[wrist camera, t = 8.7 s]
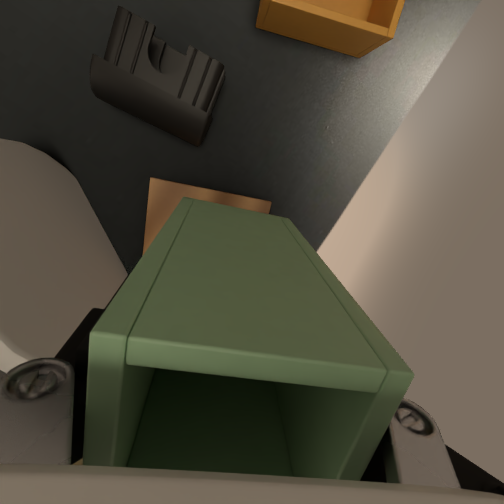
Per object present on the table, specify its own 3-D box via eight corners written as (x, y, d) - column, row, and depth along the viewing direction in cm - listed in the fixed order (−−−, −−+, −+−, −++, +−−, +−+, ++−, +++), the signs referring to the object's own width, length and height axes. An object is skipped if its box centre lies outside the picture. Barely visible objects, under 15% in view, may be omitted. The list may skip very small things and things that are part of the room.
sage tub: (289, 218, 17) (417, 374, 6) (264, 308, 19) (322, 554, 8) (183, 196, 16) (88, 332, 5) (168, 293, 18) (76, 550, 7)
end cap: (110, 101, 30) (80, 92, 24) (132, 27, 28) (106, -4, 22) (202, 146, 33) (196, 148, 26) (228, 80, 31) (229, 66, 24)
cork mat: (271, 201, 36) (271, 202, 35) (246, 302, 40) (247, 303, 40) (151, 176, 33) (150, 177, 33) (140, 286, 38) (139, 288, 38)
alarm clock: (-12, 160, 31) (-351, 192, 13) (53, 136, 31) (-196, 135, 13) (90, 320, 39) (-30, 483, 21) (143, 302, 39) (70, 451, 20)
